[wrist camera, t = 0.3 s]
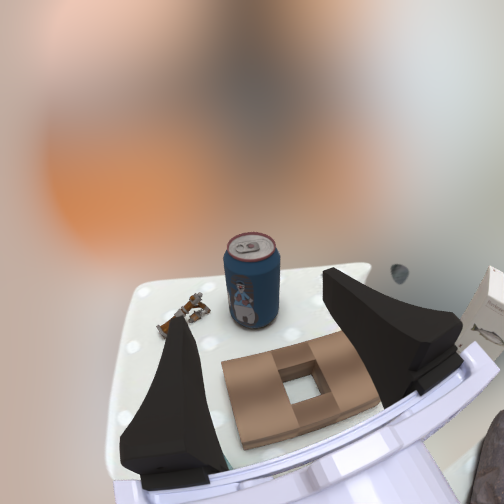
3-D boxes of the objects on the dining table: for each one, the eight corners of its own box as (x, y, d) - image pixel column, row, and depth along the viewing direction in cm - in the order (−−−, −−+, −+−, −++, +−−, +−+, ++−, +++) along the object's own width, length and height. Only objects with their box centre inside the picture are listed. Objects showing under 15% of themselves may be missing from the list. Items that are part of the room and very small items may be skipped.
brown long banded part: (217, 308, 40) (201, 293, 37) (178, 345, 38) (160, 333, 35) (210, 301, 41) (195, 286, 38) (173, 337, 40) (155, 325, 36)
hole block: (377, 404, 27) (387, 392, 25) (243, 450, 24) (241, 442, 22) (343, 344, 35) (348, 328, 33) (224, 376, 32) (220, 361, 30)
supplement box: (443, 358, 30) (486, 293, 23) (455, 326, 34) (489, 262, 27) (480, 378, 26) (529, 318, 18) (488, 344, 30) (527, 284, 22)
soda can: (272, 293, 43) (272, 226, 36) (283, 327, 38) (288, 257, 31) (227, 300, 42) (219, 233, 35) (234, 335, 37) (225, 266, 30)
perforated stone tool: (478, 417, 21) (509, 391, 17) (503, 421, 19) (534, 395, 15) (453, 523, 11) (491, 514, 7) (483, 521, 9) (522, 510, 5)
